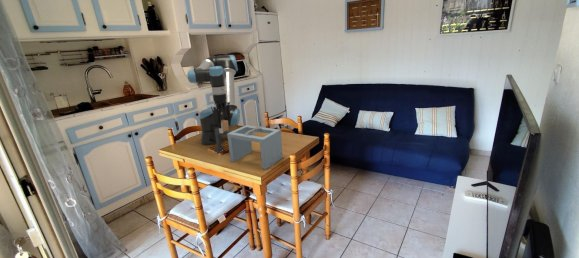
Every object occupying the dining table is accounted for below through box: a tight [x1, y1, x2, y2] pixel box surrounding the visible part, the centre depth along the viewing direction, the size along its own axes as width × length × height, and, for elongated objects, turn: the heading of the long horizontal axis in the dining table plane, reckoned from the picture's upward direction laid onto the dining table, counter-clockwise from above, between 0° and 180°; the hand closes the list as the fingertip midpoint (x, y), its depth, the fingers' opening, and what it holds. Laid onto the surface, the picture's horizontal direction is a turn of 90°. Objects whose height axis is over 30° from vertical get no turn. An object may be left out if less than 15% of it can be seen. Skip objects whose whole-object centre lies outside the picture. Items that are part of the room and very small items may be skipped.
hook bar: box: [245, 125, 263, 136], centre depth 154 cm, size 2×13×2 cm, turn 149°
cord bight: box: [214, 120, 233, 153], centre depth 168 cm, size 15×5×21 cm, turn 60°
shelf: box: [226, 124, 284, 170], centre depth 157 cm, size 25×17×17 cm
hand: (224, 131), depth 167 cm, fingers closed on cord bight, 4 cm apart
